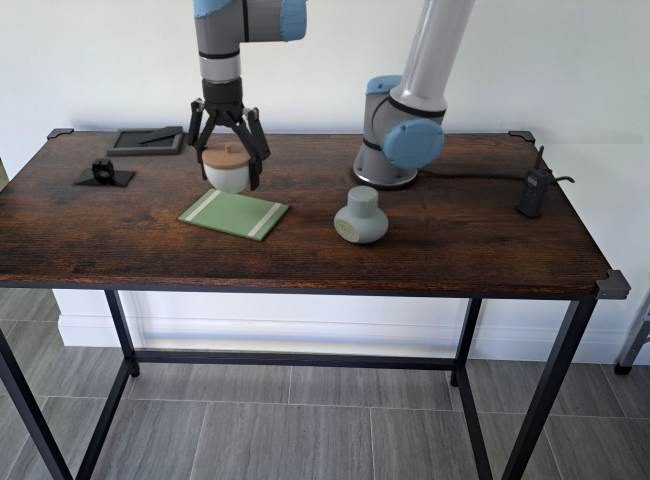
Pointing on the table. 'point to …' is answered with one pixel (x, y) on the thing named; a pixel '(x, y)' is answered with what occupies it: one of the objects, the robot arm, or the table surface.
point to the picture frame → (146, 141)
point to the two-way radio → (535, 188)
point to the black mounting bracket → (104, 175)
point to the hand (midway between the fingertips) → (231, 182)
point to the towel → (234, 214)
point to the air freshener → (361, 217)
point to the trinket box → (227, 166)
